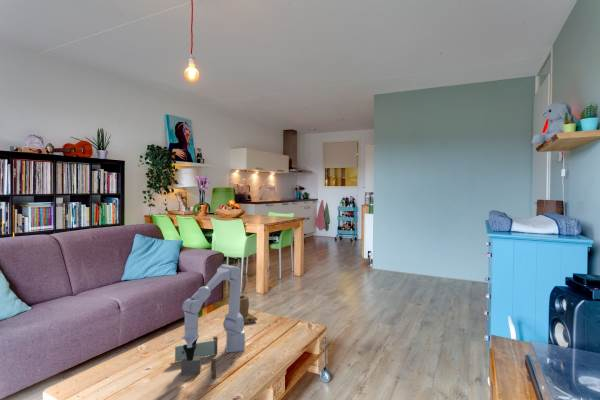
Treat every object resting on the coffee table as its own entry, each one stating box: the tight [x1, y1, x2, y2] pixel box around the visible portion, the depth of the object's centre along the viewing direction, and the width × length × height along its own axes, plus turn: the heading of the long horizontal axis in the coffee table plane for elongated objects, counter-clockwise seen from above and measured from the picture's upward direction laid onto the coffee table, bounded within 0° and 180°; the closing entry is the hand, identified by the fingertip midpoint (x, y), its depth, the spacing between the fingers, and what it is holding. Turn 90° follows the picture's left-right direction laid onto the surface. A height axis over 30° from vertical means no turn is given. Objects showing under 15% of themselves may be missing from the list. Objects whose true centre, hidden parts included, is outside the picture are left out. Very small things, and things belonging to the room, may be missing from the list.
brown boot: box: [239, 294, 258, 324], centre depth 204 cm, size 15×12×15 cm
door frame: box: [210, 336, 219, 380], centre depth 152 cm, size 2×24×8 cm, turn 13°
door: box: [174, 339, 218, 362], centre depth 157 cm, size 19×2×7 cm, turn 113°
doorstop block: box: [180, 356, 202, 376], centre depth 146 cm, size 8×4×6 cm, turn 103°
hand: (191, 356), depth 145 cm, fingers open, 7 cm apart
